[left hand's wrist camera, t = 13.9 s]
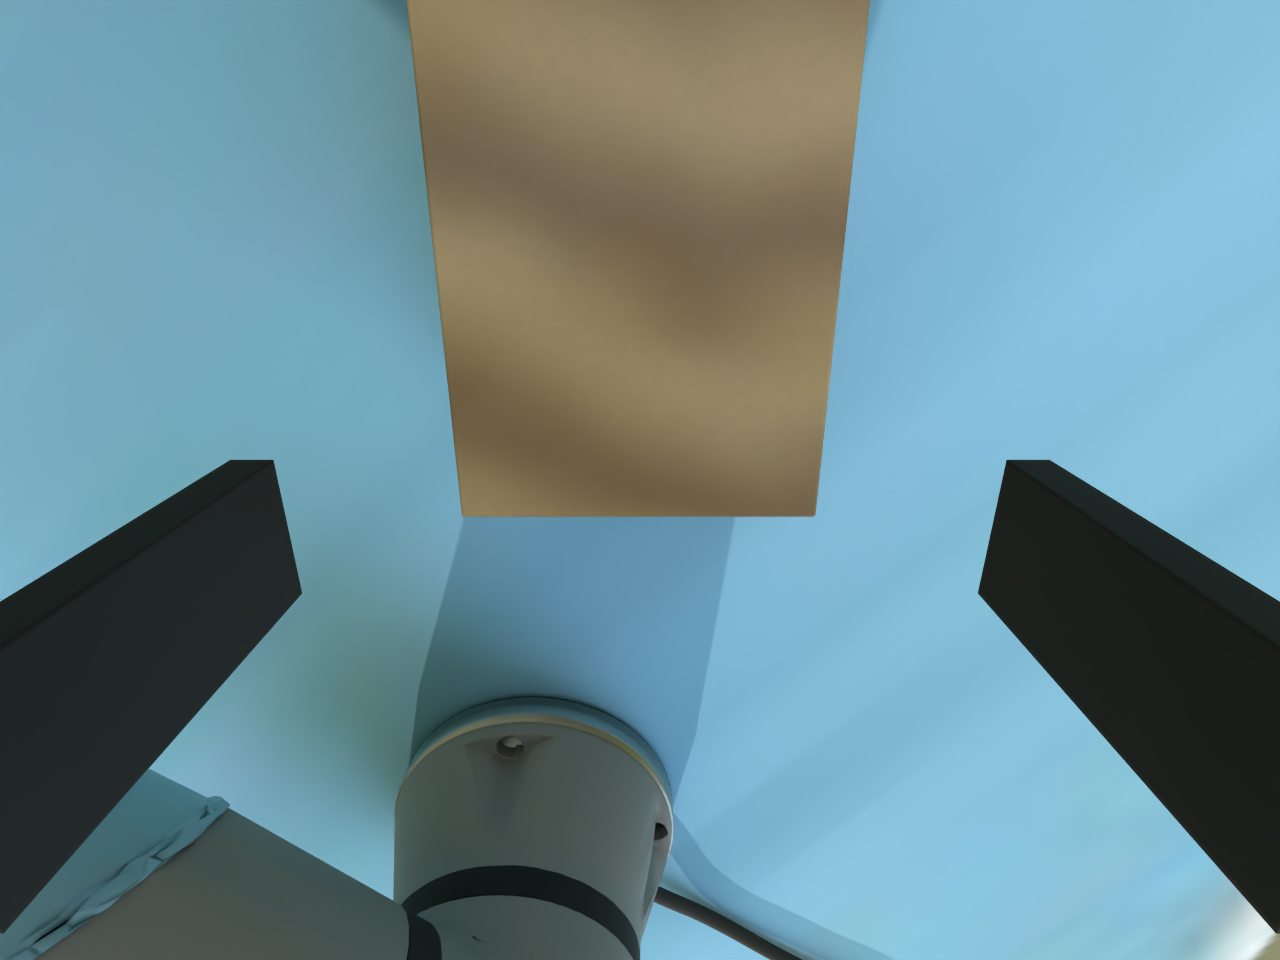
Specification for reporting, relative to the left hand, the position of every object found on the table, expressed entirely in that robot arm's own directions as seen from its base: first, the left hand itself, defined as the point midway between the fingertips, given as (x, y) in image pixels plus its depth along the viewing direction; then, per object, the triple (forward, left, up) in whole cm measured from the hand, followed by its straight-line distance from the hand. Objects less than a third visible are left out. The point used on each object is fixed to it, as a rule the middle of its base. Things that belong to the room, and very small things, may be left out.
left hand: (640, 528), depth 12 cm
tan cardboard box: (+4, -4, -18) cm, 19 cm away
